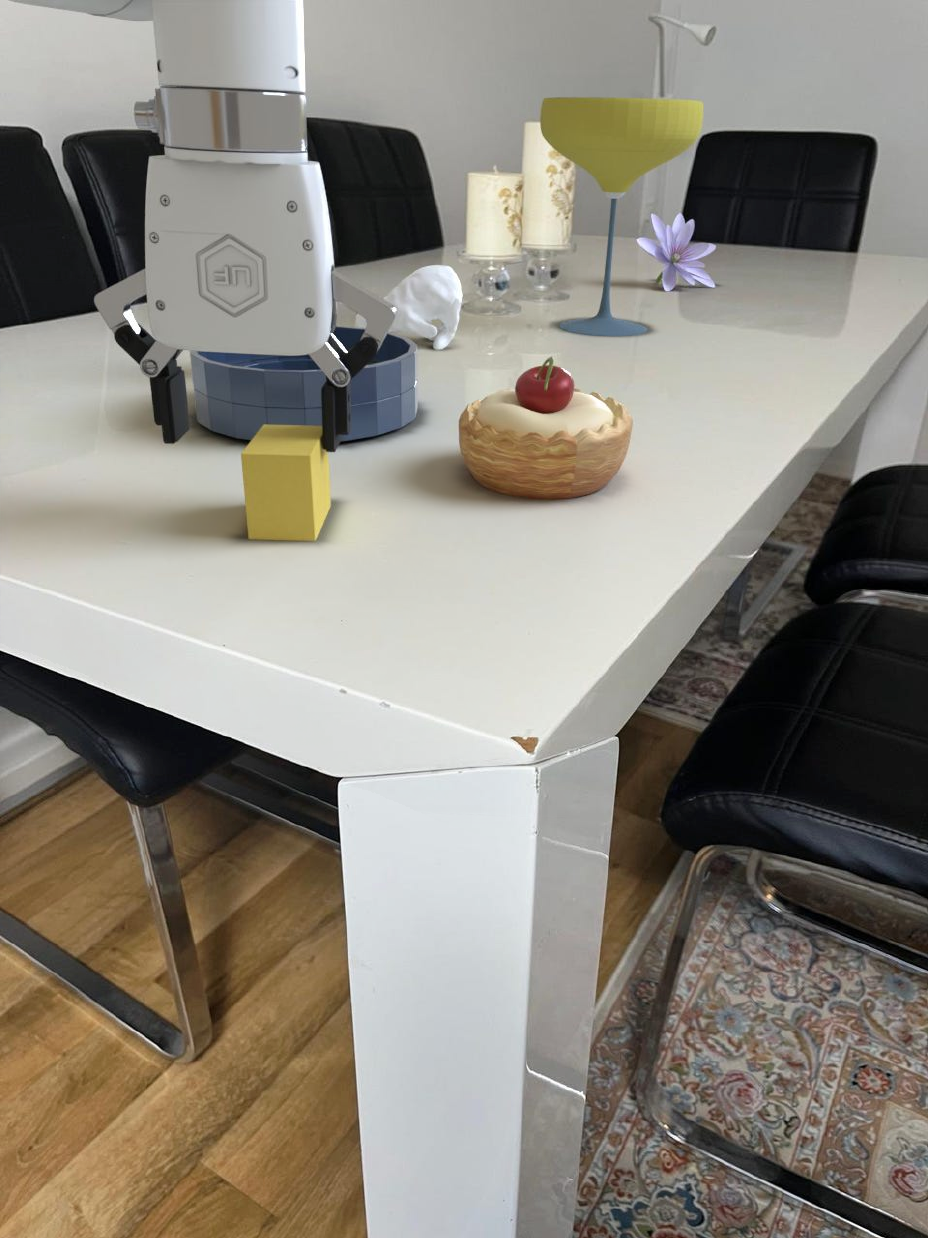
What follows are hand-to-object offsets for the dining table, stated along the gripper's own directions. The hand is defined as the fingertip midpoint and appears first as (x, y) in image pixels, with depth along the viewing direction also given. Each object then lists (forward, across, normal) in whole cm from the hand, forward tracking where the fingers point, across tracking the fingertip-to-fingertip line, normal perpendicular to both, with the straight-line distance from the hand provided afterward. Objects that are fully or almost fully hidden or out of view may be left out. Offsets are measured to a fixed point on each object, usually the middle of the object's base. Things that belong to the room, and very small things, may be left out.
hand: (254, 441), depth 59 cm
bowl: (+5, -1, +22) cm, 23 cm away
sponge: (+5, +2, -2) cm, 6 cm away
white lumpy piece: (+5, +5, +52) cm, 53 cm away
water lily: (+5, +43, +102) cm, 111 cm away
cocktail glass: (+5, +28, +65) cm, 71 cm away
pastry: (+5, +18, +8) cm, 21 cm away
